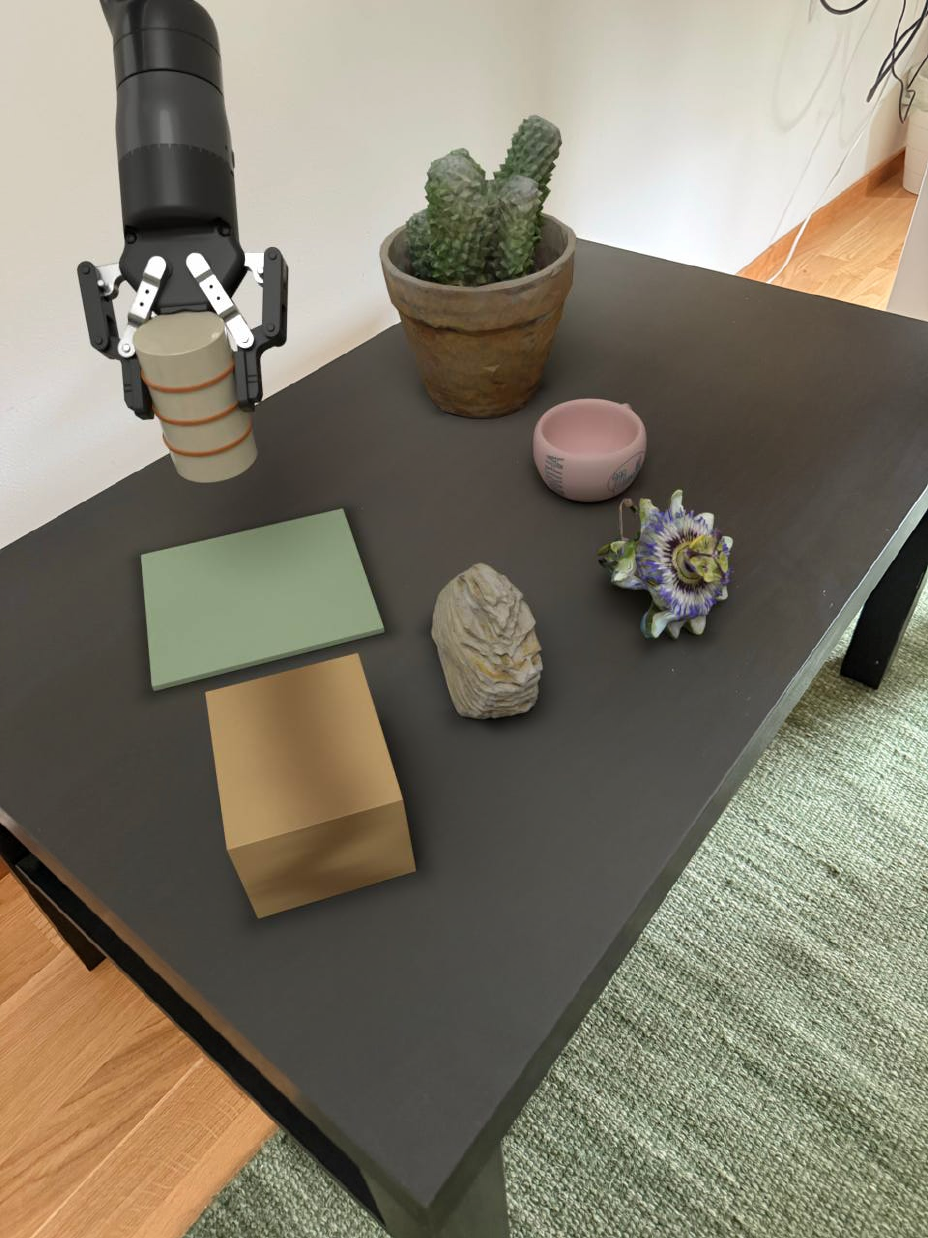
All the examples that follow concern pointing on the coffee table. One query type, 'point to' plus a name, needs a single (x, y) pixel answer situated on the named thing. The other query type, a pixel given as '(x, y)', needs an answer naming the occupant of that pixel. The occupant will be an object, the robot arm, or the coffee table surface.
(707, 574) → the passion flower
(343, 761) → the stand
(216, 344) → the banded jar
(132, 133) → the robot arm
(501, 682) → the fossil tooth
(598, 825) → the coffee table surface
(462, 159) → the potted plant
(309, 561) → the mat
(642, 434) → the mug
